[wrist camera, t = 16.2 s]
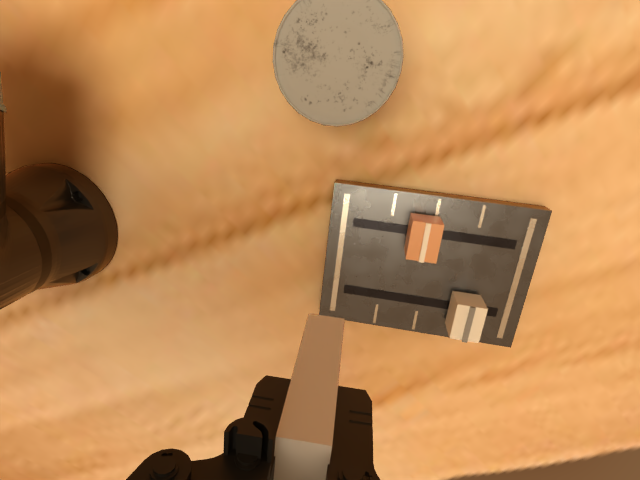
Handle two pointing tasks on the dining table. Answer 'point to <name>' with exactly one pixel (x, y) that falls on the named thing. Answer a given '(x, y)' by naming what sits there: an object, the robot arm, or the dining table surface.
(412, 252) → the fader terracotta
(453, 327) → the fader ivory
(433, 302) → the console
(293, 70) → the grey speckled cylinder
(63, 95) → the dining table surface
